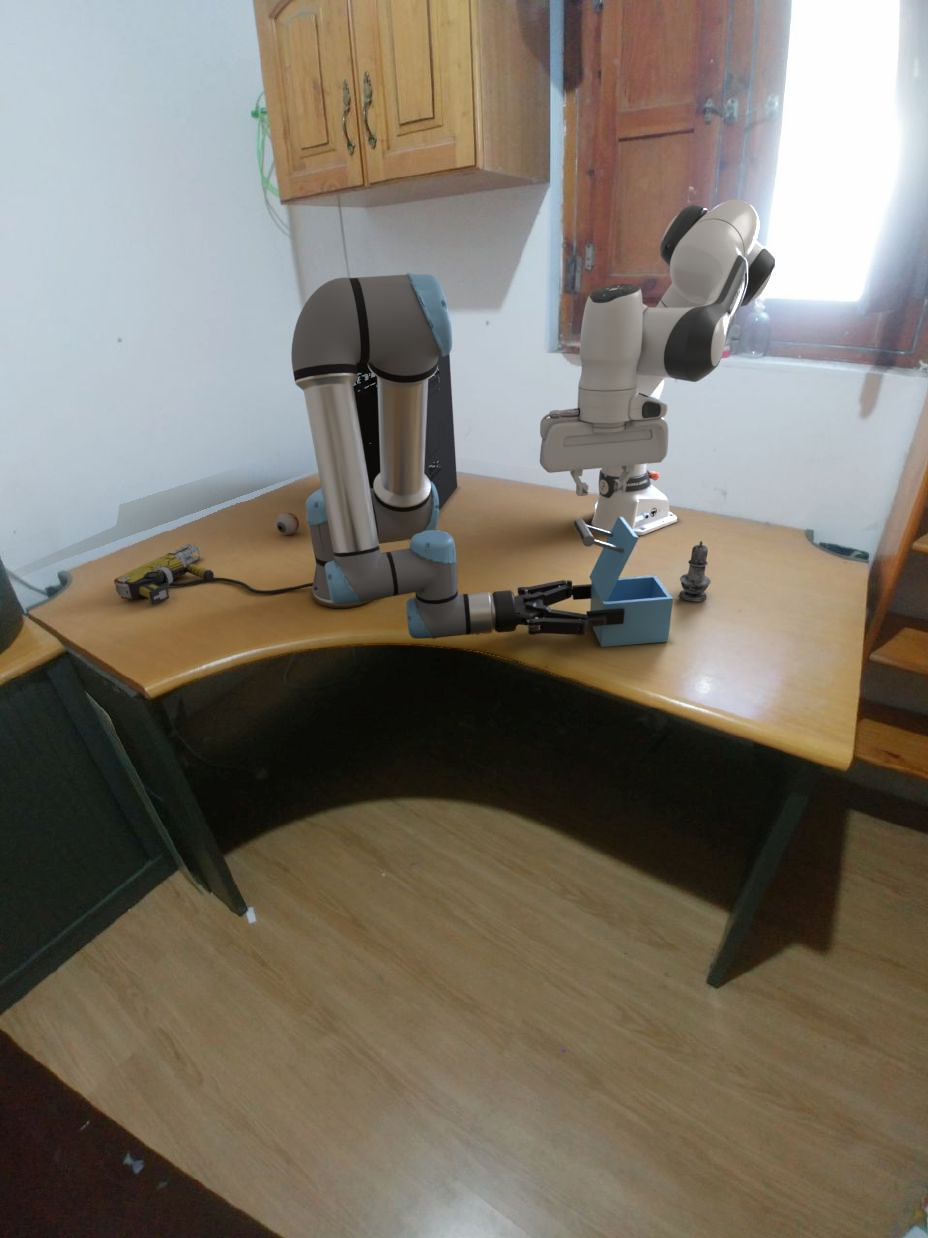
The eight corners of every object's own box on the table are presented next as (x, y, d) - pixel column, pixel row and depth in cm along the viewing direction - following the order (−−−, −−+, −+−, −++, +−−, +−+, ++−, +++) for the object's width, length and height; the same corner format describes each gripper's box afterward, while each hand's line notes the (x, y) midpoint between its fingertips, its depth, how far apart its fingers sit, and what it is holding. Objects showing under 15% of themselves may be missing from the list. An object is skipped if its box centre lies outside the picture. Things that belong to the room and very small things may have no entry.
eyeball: (273, 537, 164) (268, 516, 161) (287, 528, 169) (282, 508, 166) (291, 539, 161) (286, 518, 158) (305, 530, 166) (301, 510, 163)
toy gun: (236, 552, 148) (186, 541, 152) (163, 592, 128) (107, 579, 132) (239, 569, 150) (189, 559, 154) (167, 611, 130) (112, 598, 134)
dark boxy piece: (424, 530, 162) (407, 348, 139) (353, 528, 166) (326, 351, 144) (457, 486, 193) (448, 332, 171) (397, 485, 198) (380, 334, 175)
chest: (651, 616, 117) (655, 574, 112) (667, 641, 109) (673, 598, 104) (589, 621, 117) (591, 580, 112) (601, 647, 109) (603, 604, 104)
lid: (623, 517, 106) (580, 503, 105) (639, 537, 98) (592, 523, 97) (594, 578, 112) (552, 566, 111) (606, 602, 104) (562, 589, 103)
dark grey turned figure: (710, 602, 120) (719, 547, 114) (679, 601, 121) (687, 546, 115) (706, 589, 125) (715, 535, 119) (676, 588, 126) (683, 534, 120)
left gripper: (486, 602, 120) (597, 593, 121) (500, 663, 101) (632, 652, 102) (485, 567, 117) (600, 559, 117) (499, 625, 98) (636, 613, 98)
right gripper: (546, 415, 89) (544, 505, 96) (677, 404, 91) (666, 493, 98) (535, 407, 94) (534, 493, 101) (660, 397, 96) (650, 481, 103)
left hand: (614, 602), depth 110 cm, fingers closed on chest, 9 cm apart
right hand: (600, 493), depth 99 cm, fingers open, 5 cm apart
